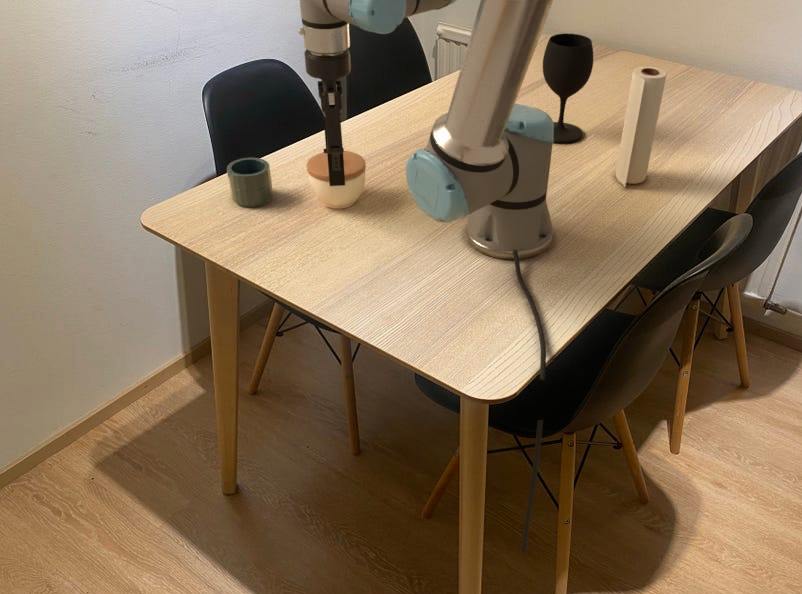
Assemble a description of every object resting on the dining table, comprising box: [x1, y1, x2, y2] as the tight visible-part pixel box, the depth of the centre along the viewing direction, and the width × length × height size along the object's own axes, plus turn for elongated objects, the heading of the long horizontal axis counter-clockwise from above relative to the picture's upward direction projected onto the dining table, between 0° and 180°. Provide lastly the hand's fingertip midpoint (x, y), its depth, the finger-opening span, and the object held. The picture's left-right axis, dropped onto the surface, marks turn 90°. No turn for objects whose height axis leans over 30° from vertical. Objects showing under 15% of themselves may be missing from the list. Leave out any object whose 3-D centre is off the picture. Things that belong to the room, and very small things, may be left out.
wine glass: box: [542, 33, 594, 144], centre depth 164 cm, size 10×10×20 cm
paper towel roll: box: [615, 66, 667, 188], centre depth 148 cm, size 7×6×21 cm
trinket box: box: [306, 150, 367, 210], centre depth 142 cm, size 11×11×9 cm
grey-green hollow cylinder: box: [226, 157, 274, 208], centre depth 143 cm, size 8×8×6 cm
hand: (335, 167), depth 141 cm, fingers open, 13 cm apart
